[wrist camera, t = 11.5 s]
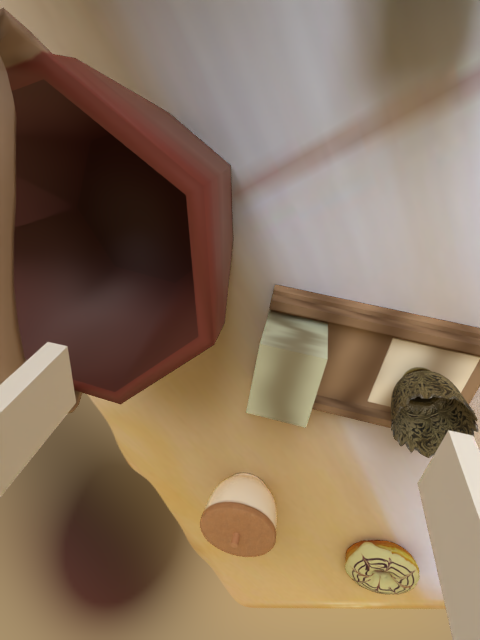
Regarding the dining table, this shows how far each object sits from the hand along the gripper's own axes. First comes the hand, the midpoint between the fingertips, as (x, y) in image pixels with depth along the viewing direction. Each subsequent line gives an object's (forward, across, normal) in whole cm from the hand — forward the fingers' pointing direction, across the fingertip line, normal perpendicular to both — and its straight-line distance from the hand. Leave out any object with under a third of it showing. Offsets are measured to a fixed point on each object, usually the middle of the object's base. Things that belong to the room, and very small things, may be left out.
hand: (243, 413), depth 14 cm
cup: (+27, +17, -16) cm, 36 cm away
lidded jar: (+28, +1, -44) cm, 52 cm away
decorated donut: (+28, +23, -52) cm, 63 cm away
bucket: (+30, -14, -2) cm, 33 cm away
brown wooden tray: (+29, +11, -16) cm, 35 cm away
